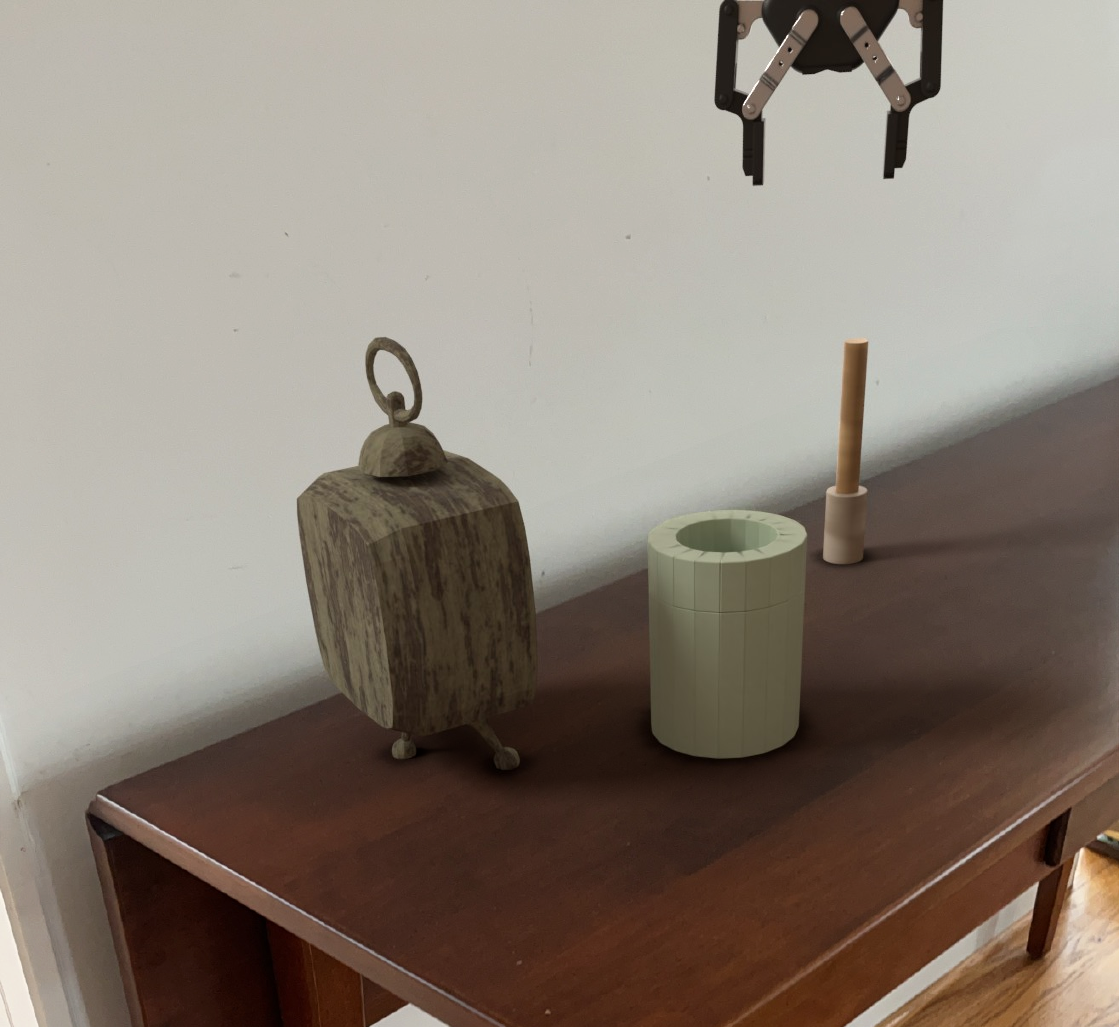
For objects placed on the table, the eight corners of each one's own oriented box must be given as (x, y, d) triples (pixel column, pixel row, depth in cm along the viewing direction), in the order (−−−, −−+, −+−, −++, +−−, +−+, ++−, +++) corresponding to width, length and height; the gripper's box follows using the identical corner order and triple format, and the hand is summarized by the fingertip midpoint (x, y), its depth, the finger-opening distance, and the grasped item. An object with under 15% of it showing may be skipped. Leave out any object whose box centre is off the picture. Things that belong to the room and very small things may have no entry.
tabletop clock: (547, 776, 89) (517, 347, 74) (416, 818, 86) (357, 377, 71) (446, 698, 99) (402, 308, 85) (326, 732, 96) (258, 332, 81)
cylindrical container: (788, 699, 96) (796, 505, 88) (806, 763, 89) (816, 557, 81) (649, 706, 97) (645, 513, 89) (654, 770, 89) (651, 565, 81)
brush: (859, 556, 117) (874, 334, 107) (865, 570, 115) (881, 343, 105) (820, 558, 118) (831, 336, 108) (825, 572, 115) (837, 346, 105)
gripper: (954, -136, 87) (929, 168, 97) (720, -117, 89) (719, 178, 99) (962, -141, 81) (935, 183, 91) (711, -121, 84) (711, 194, 93)
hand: (822, 180), depth 95 cm, fingers open, 8 cm apart
